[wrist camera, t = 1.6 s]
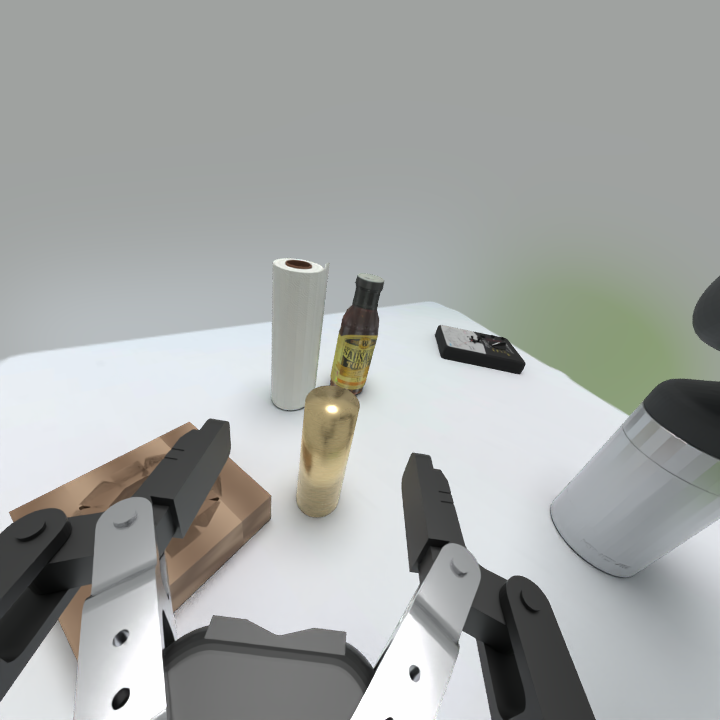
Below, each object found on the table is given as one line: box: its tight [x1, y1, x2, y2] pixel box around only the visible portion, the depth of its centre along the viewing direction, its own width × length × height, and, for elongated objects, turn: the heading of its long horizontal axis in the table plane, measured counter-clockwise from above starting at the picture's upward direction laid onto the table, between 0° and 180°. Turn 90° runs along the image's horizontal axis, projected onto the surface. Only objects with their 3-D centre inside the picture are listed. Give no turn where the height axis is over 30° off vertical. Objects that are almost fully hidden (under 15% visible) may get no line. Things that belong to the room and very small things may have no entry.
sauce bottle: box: [330, 273, 384, 395], centre depth 45 cm, size 7×6×20 cm
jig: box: [9, 422, 271, 661], centre depth 26 cm, size 14×14×4 cm
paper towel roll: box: [271, 258, 329, 410], centre depth 40 cm, size 7×6×21 cm
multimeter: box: [435, 325, 525, 374], centre depth 71 cm, size 13×19×5 cm
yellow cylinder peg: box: [296, 386, 360, 517], centre depth 28 cm, size 5×5×14 cm
